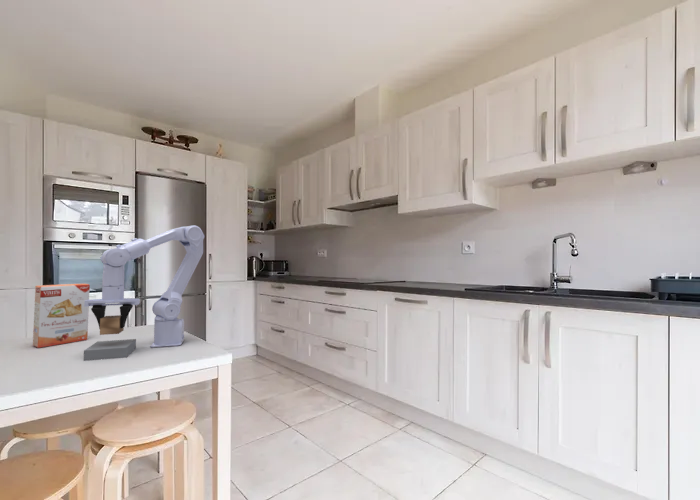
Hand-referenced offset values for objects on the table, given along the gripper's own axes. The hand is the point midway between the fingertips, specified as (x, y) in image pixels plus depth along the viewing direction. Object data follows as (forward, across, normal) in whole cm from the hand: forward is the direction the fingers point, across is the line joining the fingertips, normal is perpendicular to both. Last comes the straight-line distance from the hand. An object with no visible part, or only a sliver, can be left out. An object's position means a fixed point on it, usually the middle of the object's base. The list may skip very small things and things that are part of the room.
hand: (112, 327), depth 105 cm
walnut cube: (+1, 0, 0) cm, 1 cm away
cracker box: (+9, -21, +20) cm, 30 cm away
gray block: (+9, 0, 0) cm, 9 cm away
